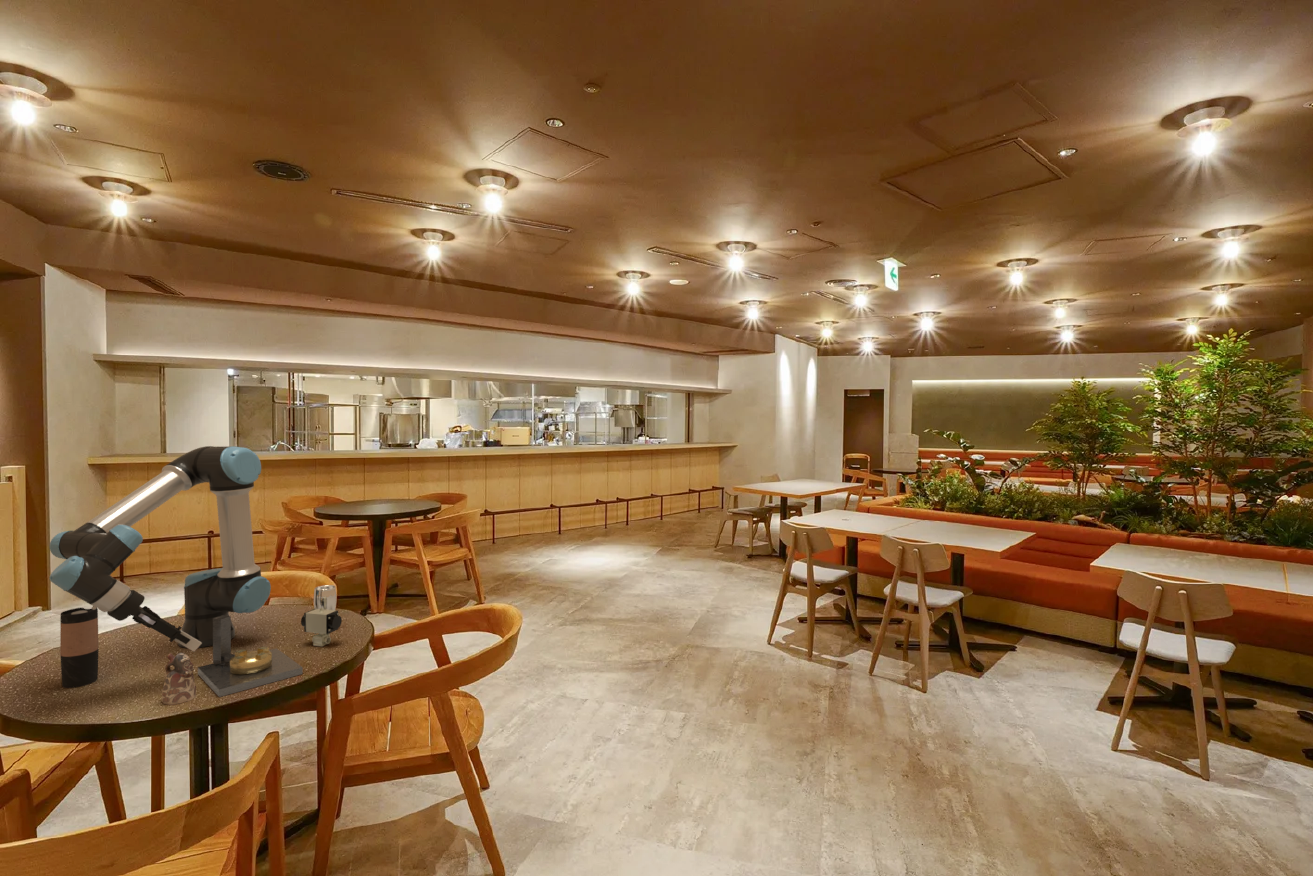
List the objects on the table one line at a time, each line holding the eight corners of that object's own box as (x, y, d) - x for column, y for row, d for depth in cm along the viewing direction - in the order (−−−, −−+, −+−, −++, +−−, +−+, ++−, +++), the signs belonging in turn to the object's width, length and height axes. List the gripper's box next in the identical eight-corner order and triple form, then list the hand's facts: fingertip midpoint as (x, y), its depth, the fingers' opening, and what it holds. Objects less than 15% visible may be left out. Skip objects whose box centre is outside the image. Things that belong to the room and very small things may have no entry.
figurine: (184, 704, 155) (183, 658, 155) (154, 705, 155) (154, 658, 154) (202, 692, 162) (202, 647, 162) (174, 693, 162) (174, 648, 161)
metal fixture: (201, 668, 172) (200, 622, 172) (234, 655, 182) (234, 611, 182) (248, 676, 167) (248, 628, 167) (280, 662, 177) (280, 617, 177)
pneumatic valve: (331, 648, 194) (331, 611, 194) (300, 646, 197) (300, 609, 196) (344, 642, 200) (344, 606, 199) (313, 640, 202) (313, 604, 202)
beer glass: (332, 625, 217) (332, 583, 216) (339, 630, 212) (339, 587, 211) (311, 630, 212) (311, 587, 212) (317, 635, 207) (317, 591, 207)
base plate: (197, 674, 174) (197, 666, 174) (276, 654, 189) (276, 647, 189) (219, 697, 159) (219, 688, 159) (302, 674, 175) (302, 666, 174)
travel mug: (66, 690, 162) (65, 616, 162) (56, 684, 167) (55, 611, 166) (103, 680, 169) (102, 609, 169) (93, 674, 173) (92, 605, 173)
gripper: (101, 608, 162) (180, 652, 174) (109, 618, 153) (191, 665, 166) (127, 584, 165) (202, 630, 178) (136, 593, 157) (214, 640, 170)
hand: (197, 646), depth 172 cm, fingers closed
